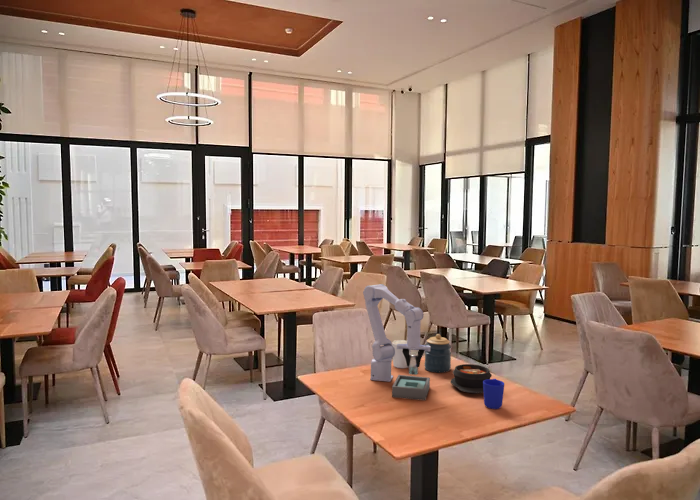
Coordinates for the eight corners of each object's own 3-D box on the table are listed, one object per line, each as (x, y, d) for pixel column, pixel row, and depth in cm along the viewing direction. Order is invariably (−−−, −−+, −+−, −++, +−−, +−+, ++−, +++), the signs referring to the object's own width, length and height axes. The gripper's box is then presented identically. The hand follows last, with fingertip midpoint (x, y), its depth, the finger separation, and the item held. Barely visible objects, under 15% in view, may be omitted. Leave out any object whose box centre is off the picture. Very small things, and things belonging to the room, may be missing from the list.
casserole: (449, 377, 237) (449, 359, 237) (489, 379, 234) (490, 361, 234) (451, 396, 213) (452, 376, 212) (496, 398, 210) (497, 379, 209)
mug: (504, 401, 207) (505, 377, 206) (503, 411, 196) (504, 387, 195) (483, 398, 210) (484, 375, 209) (481, 409, 199) (482, 384, 198)
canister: (444, 374, 240) (445, 338, 239) (420, 370, 247) (420, 334, 246) (454, 368, 251) (455, 333, 250) (430, 363, 258) (431, 329, 257)
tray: (391, 397, 211) (392, 386, 210) (398, 384, 226) (398, 374, 226) (425, 400, 207) (425, 389, 207) (429, 387, 222) (429, 377, 222)
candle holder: (388, 365, 253) (388, 342, 253) (399, 361, 261) (400, 339, 260) (403, 370, 247) (404, 346, 246) (415, 365, 254) (415, 342, 253)
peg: (408, 374, 219) (408, 356, 218) (409, 371, 222) (409, 353, 222) (417, 375, 218) (417, 356, 217) (418, 372, 221) (418, 354, 221)
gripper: (395, 336, 217) (395, 367, 218) (429, 338, 213) (429, 370, 214) (398, 332, 223) (397, 362, 224) (431, 335, 220) (430, 365, 221)
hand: (413, 366), depth 220 cm, fingers closed on peg, 4 cm apart
